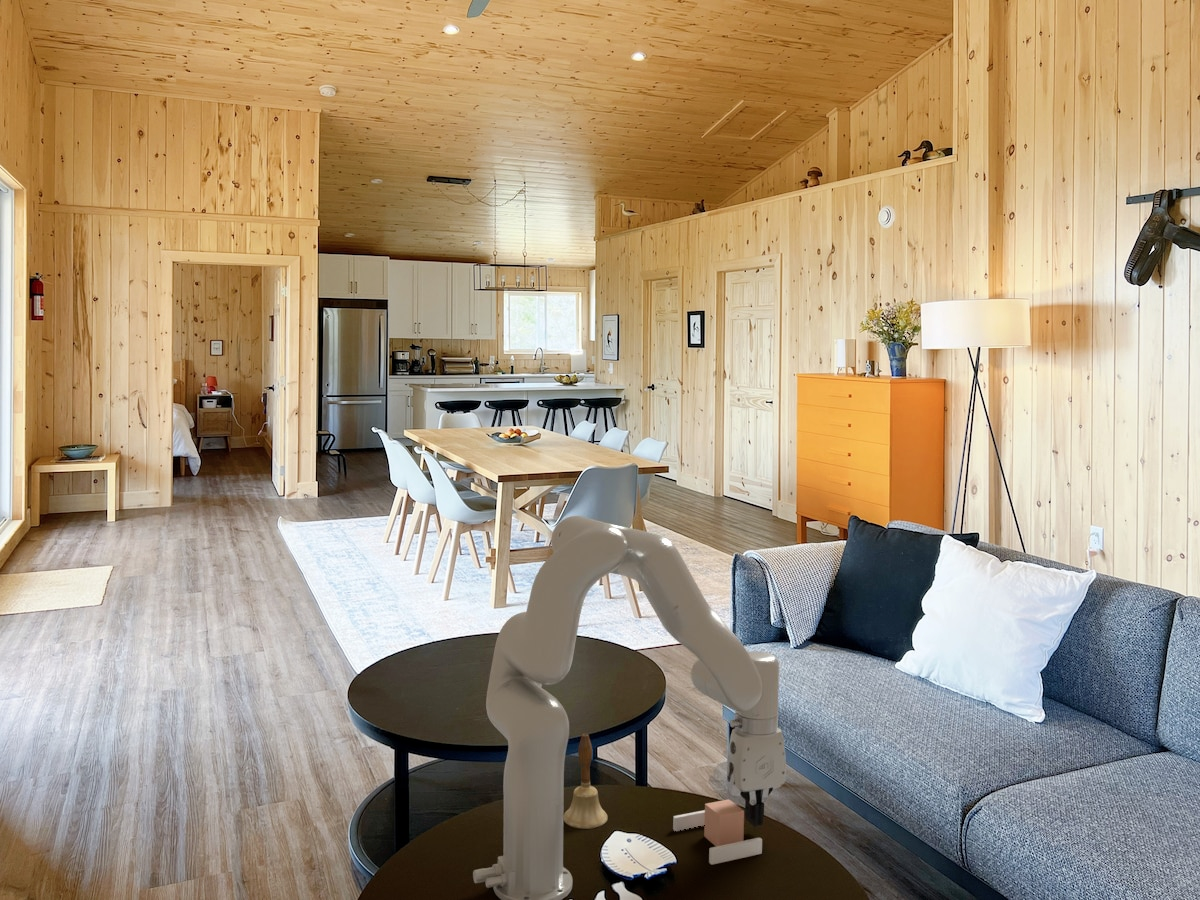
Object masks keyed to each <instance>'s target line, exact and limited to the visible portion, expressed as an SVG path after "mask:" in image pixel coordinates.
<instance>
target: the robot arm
mask: <svg viewBox="0 0 1200 900" xmlns="http://www.w3.org/2000/svg"><path fill="white" fill-rule="evenodd" d="M550 542H551V543H550V544H551V549H552V551H553V553H552V554H551V555H549V557H548V558H547V559H546V560H545V561H544V563H543V564H542V565H541V567H540V568H539V570H538V571H537V574H536V575H535V578H534V581H533V582H532V586H531V588H530V589H531V591H530V595H529V600H528V602H527V603H528V604H527V607H526V611H522V612H519V613H516V614H514V615H512V616H511V617H510V618H509V619H507V620H506V622H505V623H504V624H503V626H502V627H501V629H500V631H499V632H498V635H497V638H496V641H495V646H494V650H493V656H492V662H491V667H490V673H489V679H488V685H487V691H486V702H485V707H486V713H487V717H488V719H489V721H490V722H491V724H492V726H494V728H495V729H497V731H498V732H500V734H501V735H502V736H503V737H504V738H505V739H506V740H507V744H508V746H507V747H508V748H507V750H508V751H507V755H506V760H505V763H504V770H503V782H502V783H503V788H502V789H503V791H502V792H503V843H502V844H503V848H502V850H503V853H502V854H503V855H500V856H497V863H494V864H492V866H491V867H486V868H485V867H483V868H478V869H473V871H472V878H473V882H474V884H480V883H484V882H485V887H486V888H487V889H489V888H493V891H494V894H495V895H496V896H497V897H498V898H499V899H500V900H563V899H564V898H566V897H568V895H569V894H570V893H571V891H572V889H573V881H574V880H573V876H572V874H571V872H570V871H569V870H568V869H567V868H566V867H564V820H563V815H564V795H565V792H564V791H565V790H564V788H565V786H564V782H565V781H564V780H565V779H564V778H565V777H564V776H565V773H564V772H565V761H566V760H565V759H566V754H567V753H566V751H567V746H568V742H569V737H570V736H569V735H570V721H569V717H568V714H567V712H566V710H565V708H564V706H563V705H562V704H561V703H560V701H559V700H558V699H557V698H556V697H555V696H553V695H552V694H551V693H550V692H548V691H547V690H545V689H544V688H542V687H543V685H548V686H549V685H550V686H551V685H555V684H557V683H560V682H561V681H563V680H564V678H566V677H567V675H568V673H569V672H570V669H571V666H572V663H573V661H574V660H573V659H574V653H575V648H576V647H575V646H576V641H577V635H578V629H579V623H580V617H581V614H582V613H581V612H582V608H583V605H584V601H585V598H586V597H587V595H588V593H589V592H590V590H591V589H592V587H593V586H594V585H595V584H596V583H597V582H598V581H600V580H601V579H602V578H604V577H605V576H608V575H609V574H613V575H620V576H624V577H627V578H629V579H631V580H635V581H636V582H637V584H638V585H639V586H640V589H641V590H642V592H643V594H644V595H645V597H646V599H647V600H648V602H649V604H650V606H651V607H652V610H653V611H654V613H655V614H656V616H657V618H658V620H659V622H660V623H661V624H662V627H663V628H664V629H665V631H666V632H667V633H668V634H669V635H670V636H671V637H673V639H674V640H676V641H677V643H679V644H680V645H682V646H683V647H685V649H687V650H688V651H690V652H691V653H692V654H693V655H694V656H695V657H696V658H697V660H695V661H694V663H693V665H692V666H691V668H690V669H691V670H690V679H691V683H692V686H693V687H694V688H695V689H696V690H697V691H698V692H699V693H701V694H703V695H704V696H706V697H708V698H710V699H712V700H713V701H716V702H718V703H719V704H721V705H723V706H725V707H726V708H727V709H728V708H729V709H731V710H733V711H735V713H734V718H733V719H730V720H729V725H730V727H731V728H733V729H732V731H731V734H730V738H729V744H728V752H727V760H726V778H727V783H729V784H728V787H727V793H728V794H730V795H731V796H733V797H741V798H742V799H743V800H744V802H745V804H744V818H745V820H746V821H747V822H748V823H749V824H751V825H752V826H753V827H758V826H764V817H765V804H766V803H767V802H768V797H769V796H770V794H771V793H772V792H773V791H774V790H777V789H779V788H780V787H782V785H784V783H785V782H786V779H787V762H786V761H787V760H786V759H787V758H786V748H785V741H784V736H783V732H782V729H781V728H779V726H778V724H779V687H780V686H779V684H780V683H779V681H780V663H779V660H778V658H777V657H776V656H775V655H774V654H772V653H769V652H766V651H765V652H764V651H755V650H754V651H747V649H746V647H745V646H744V645H743V643H742V642H741V640H740V639H739V638H738V637H737V635H736V634H735V633H734V632H733V631H732V629H730V627H729V626H728V625H727V623H725V621H723V619H722V618H721V617H720V615H719V614H718V613H717V612H716V611H715V610H714V609H713V608H712V607H711V605H709V603H708V602H707V600H706V598H705V597H704V595H703V593H702V591H701V589H700V588H699V586H698V584H697V582H696V580H695V579H694V577H693V575H692V573H691V572H690V570H689V568H688V566H687V564H686V563H685V560H684V559H683V557H682V555H681V553H680V552H679V550H678V548H677V547H676V545H675V544H674V543H673V541H671V539H668V538H666V537H665V536H662V535H660V534H656V533H652V532H649V531H646V530H642V529H637V528H630V527H628V526H627V527H626V526H621V525H616V524H612V523H608V522H604V521H601V520H597V519H592V518H589V517H586V516H581V515H571V516H567V517H565V518H563V519H562V520H560V522H558V523H557V524H556V526H555V527H554V529H553V530H552V533H551V538H550Z"/></svg>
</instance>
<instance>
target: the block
mask: <svg viewBox="0 0 1200 900" xmlns="http://www.w3.org/2000/svg"><path fill="white" fill-rule="evenodd" d="M704 810H705V826H703V827H704V833H703V835H704V838H706V839H707V841H709V842H710V843H711V844H713V845H714V847H717V846H721V845H726V844H731V843H736V842H740V841H744V838H745V837H744V834H745V833H744V832H745V831H744V830H745V829H744V828H745V827H744V825H745V809H742V808H741V807H740V806H739V805H738V804H736V803H735V802H733V801H732V800H731V799H729V798H728V799H723V800H722V799H721V800H718V801H714V802H707V803H704Z"/></svg>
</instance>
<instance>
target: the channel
mask: <svg viewBox="0 0 1200 900" xmlns="http://www.w3.org/2000/svg"><path fill="white" fill-rule="evenodd" d="M672 821H673V823H672V824H673V825H672V829H673V831H674V832H675V831H676V832H680V830H681V831H685V830H684V829H686V830H689V828H691V829H695V828H694V827H696V828H699V827H698V826H701V827H705V826H704V825H705V809H704V810H698V811H693V812H689V813H687V812H686V813H683V814H677V815H673V820H672ZM708 852H709V854H708V863H709V864H710V865H712V866H713V865H717V864H721V863H725V862H730V861H734V860H739V859H743V858H748V857H749V858H750V857H753V856H756V855H761V854H763V853H762V852H763V839H762V838H761V837H754V838H751V839H746V840H743V841H740V842H736V843H731V844H726V845H721V846H717V847H716V846H713V847H710V848H709V851H708Z"/></svg>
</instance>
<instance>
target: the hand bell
mask: <svg viewBox="0 0 1200 900" xmlns="http://www.w3.org/2000/svg"><path fill="white" fill-rule="evenodd" d="M577 748H578V749H577V751H578V760H579V764H580V768H581V769H580V786H579V785H578V786H577V787H576V788H575V789H573V796H572V800H571V804H570V806H569V808H568V809H567V810H566V811H565V812H564V813H563V823H565V824H566V825H568V826H570V827H572V828H574V829H582V830H583V829H585V830H587V829H588V830H589V829H590V830H591V829H595V828H599V827H601V826H604V825H605V824H606V823H607V822H608V817H609V816H608V814H607V812H606V811H605V810H604V809H603V808H602V806H601V804H600V799H599V793H598V790H597V788H596V787H594V786H592V785H591V776H590V775H591V773H590V772H591V771H590V770H591V769H590V767H591V763H592V760H593V759H592V758H593V746H592V742H591V739H590V735H589V734H588V733H582V734H581V737H580V741H579V744H578V747H577Z"/></svg>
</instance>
